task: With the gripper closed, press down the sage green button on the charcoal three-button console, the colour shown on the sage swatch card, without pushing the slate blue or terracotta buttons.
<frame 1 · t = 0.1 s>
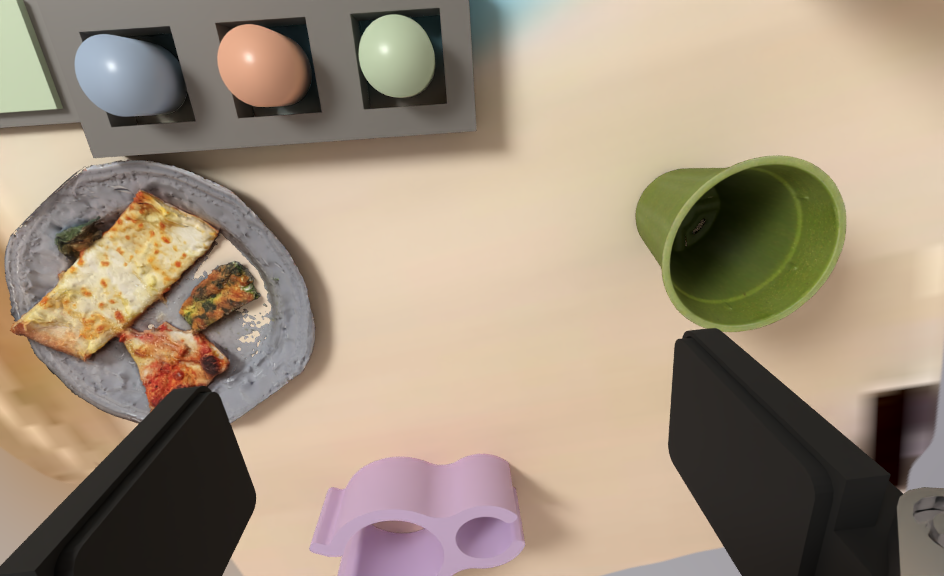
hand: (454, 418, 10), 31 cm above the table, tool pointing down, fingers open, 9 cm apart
food plate: (176, 302, 42), on the table
clip: (424, 493, 51), on the table
plant pot: (675, 211, 40), on the table
button panel: (284, 71, 35), on the table
slate button: (134, 77, 31), point 3 cm above the table, slide at 0.0 cm
sage button: (399, 59, 32), point 3 cm above the table, slide at 0.0 cm
terracotta button: (267, 68, 32), point 4 cm above the table, slide at 0.0 cm
prompt card: (4, 60, 34), on the table
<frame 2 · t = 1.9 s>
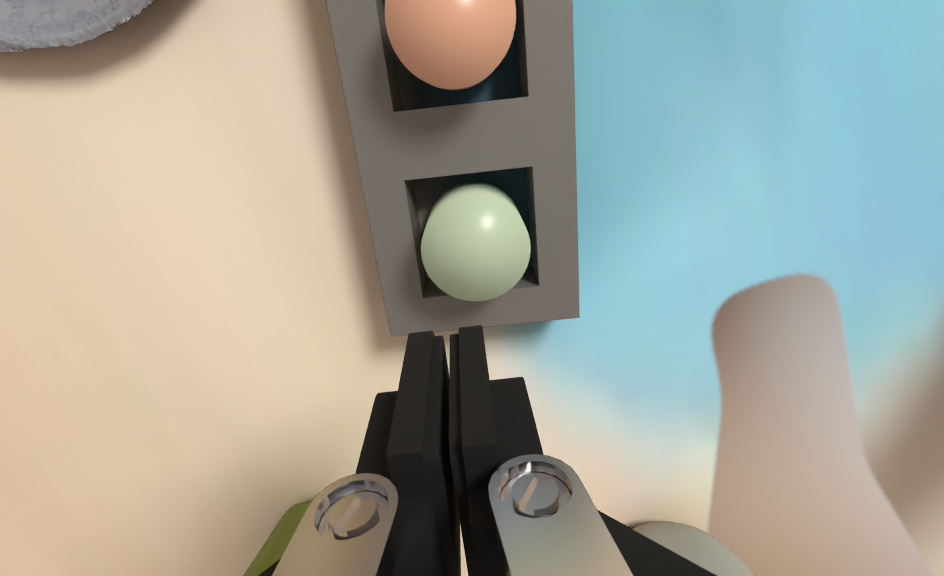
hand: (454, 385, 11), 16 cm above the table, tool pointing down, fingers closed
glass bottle: (654, 541, 35), on the table
plant pot: (329, 530, 34), on the table
button panel: (454, 36, 22), on the table
sage button: (475, 238, 22), point 4 cm above the table, slide at 0.0 cm
terracotta button: (452, 25, 19), point 4 cm above the table, slide at 0.0 cm
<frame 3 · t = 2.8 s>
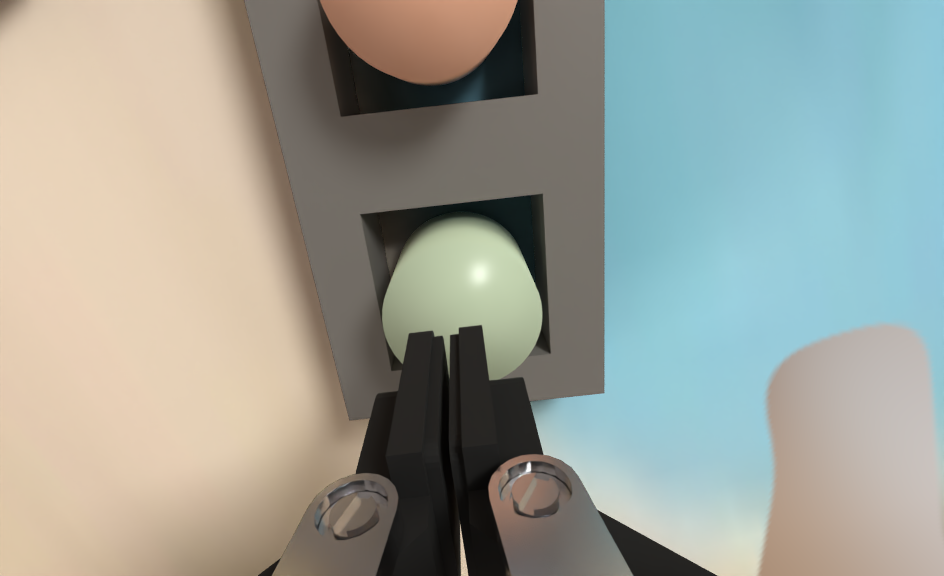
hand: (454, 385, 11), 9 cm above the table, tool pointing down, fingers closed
button panel: (430, 10, 16), on the table
sage button: (462, 294, 16), point 3 cm above the table, slide at 0.0 cm
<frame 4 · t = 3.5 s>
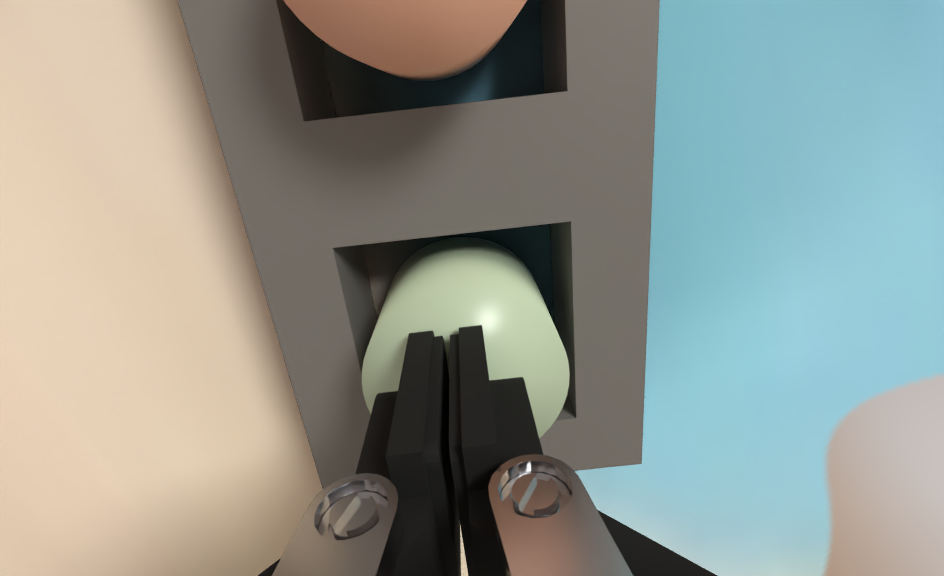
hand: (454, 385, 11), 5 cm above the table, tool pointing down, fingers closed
sage button: (464, 342, 13), point 3 cm above the table, slide at 0.4 cm, touching gripper
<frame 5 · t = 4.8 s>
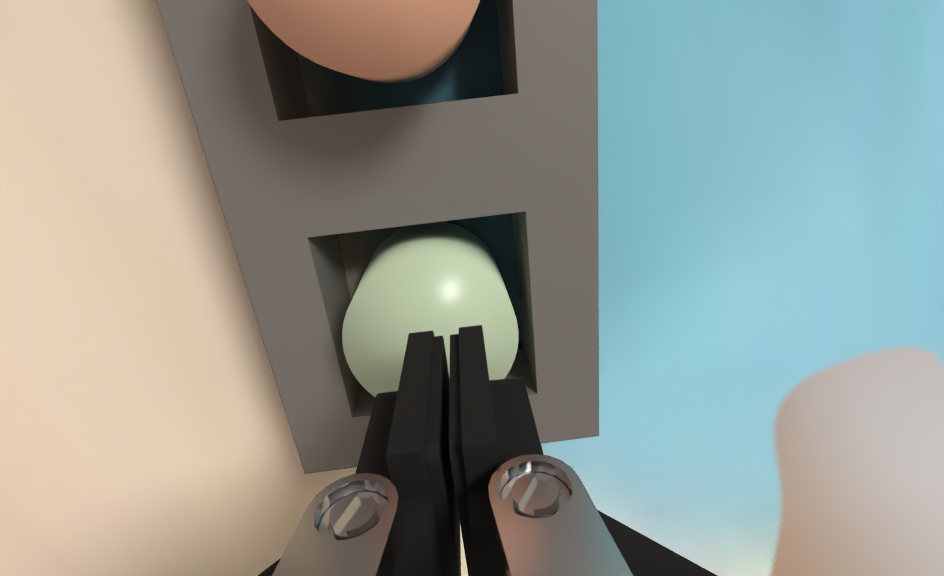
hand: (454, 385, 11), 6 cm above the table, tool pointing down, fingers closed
sage button: (432, 311, 15), point 2 cm above the table, slide at 1.3 cm
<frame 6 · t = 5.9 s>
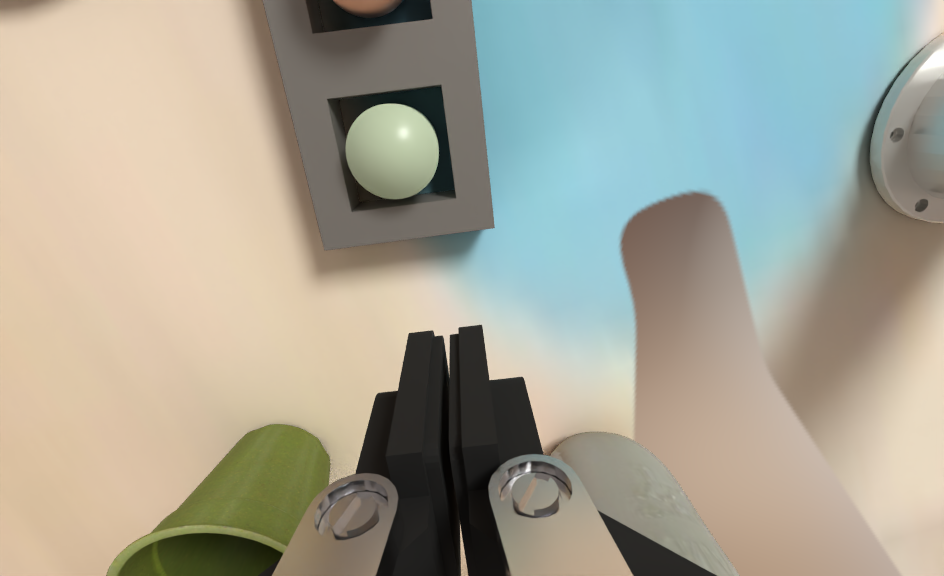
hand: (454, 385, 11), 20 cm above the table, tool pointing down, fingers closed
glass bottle: (587, 456, 38), on the table
plant pot: (283, 458, 36), on the table
sage button: (395, 149, 26), point 2 cm above the table, slide at 1.3 cm
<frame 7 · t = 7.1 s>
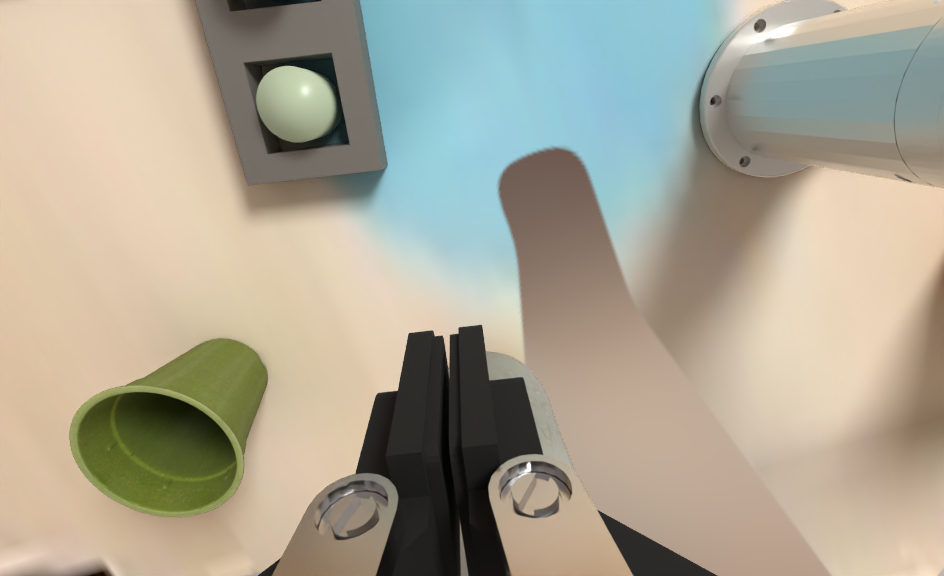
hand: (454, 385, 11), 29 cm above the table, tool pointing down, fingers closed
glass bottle: (486, 378, 45), on the table
plant pot: (229, 370, 44), on the table
sage button: (301, 105, 33), point 2 cm above the table, slide at 1.3 cm
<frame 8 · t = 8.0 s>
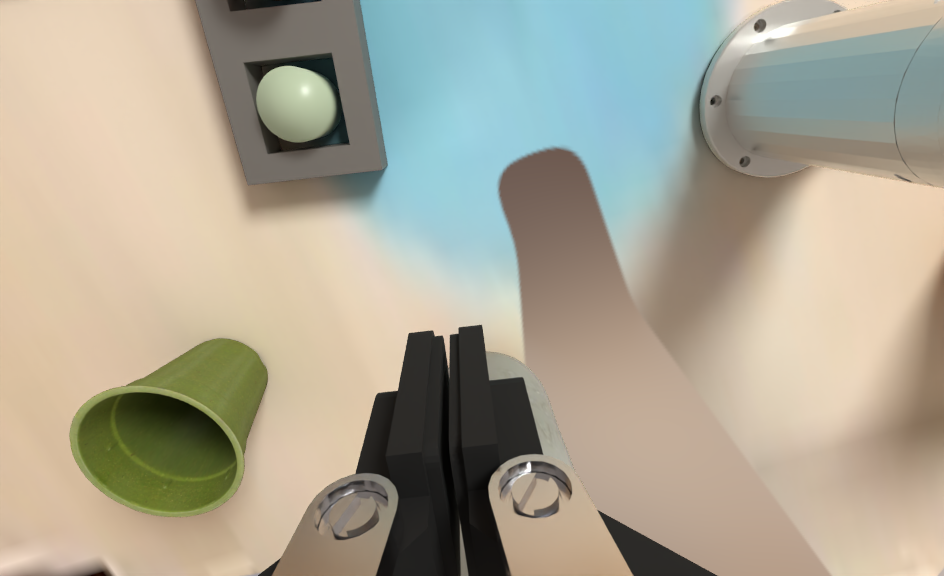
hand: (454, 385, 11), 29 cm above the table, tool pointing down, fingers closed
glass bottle: (486, 378, 45), on the table
plant pot: (229, 370, 44), on the table
sage button: (301, 105, 33), point 2 cm above the table, slide at 1.3 cm
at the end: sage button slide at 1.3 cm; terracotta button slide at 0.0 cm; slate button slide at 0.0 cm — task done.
